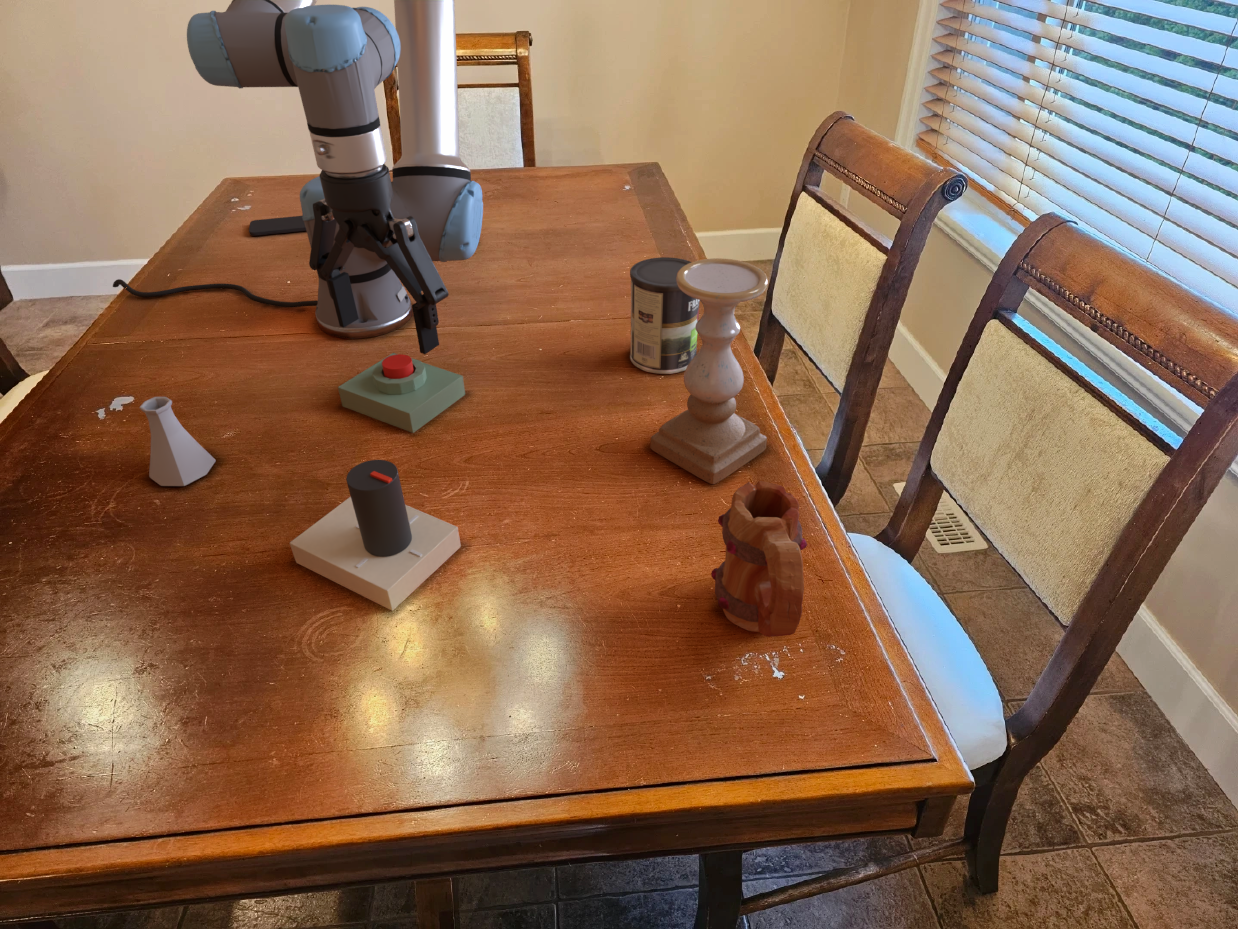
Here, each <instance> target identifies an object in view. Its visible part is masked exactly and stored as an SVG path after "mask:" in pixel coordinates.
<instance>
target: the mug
mask: <svg viewBox="0 0 1238 929" xmlns="http://www.w3.org/2000/svg"><path fill="white" fill-rule="evenodd" d="M799 511H800V503H799V500H798V499H797V498H796V497H794V495H793V494H792V493H790V492H787V490H786V489H785V487H784V486H782V485H780V484H777V483H773V482H768V481H763V480H759V481H757V482H756V484H753V483H751V482H750V481H747V482H746V483H745V484H743V485H742V486H740V487H739V488H737V489H736V490H735V492H734V493H733V495H732V498H731V505H730V508H728V510H727V511H726V512H725V513H722V514H721V515H719V516H718V519H717V523H718V524H719V526H721V528H722V530H721V531H722V532H721V534H722V540H723V543H724V545H725V557H724V561H722V563H721V564H720V565H719V566H718V567H716V568H713V569H712V570H711V573H710V575H711V578H712V579H713V581H714V594H715V597H716V599H717V604H718V606H719V607H720V608H721V609H722V611H723V614H724V616H725V617H726V619H727V620H728V621H729V622H731V623H732V624H734V625H736V626H737V627H739V628H741V629H744V630H746V631H748V632H755V633H760V634H761V635H762V636H764V637H767V638H773V637H783V636H784V637H785V636H791V635H794V634H795V633H796V631H797V629H798V627H799V625H800V621H801V618H802V613H803V600H804V593H805V581H804V560H803V556H802V551H803V550H805V549H806V548H807V546H808V543H807V541H806V539H805V538H804V537H803V527H802V524H801V522H800V520H799V519H800V512H799Z"/></svg>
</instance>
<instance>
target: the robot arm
mask: <svg viewBox="0 0 1238 929" xmlns="http://www.w3.org/2000/svg"><path fill="white" fill-rule="evenodd" d="M317 1H318V0H231V1H230V4H229V5H228V7H227V8H226V10H225V11H223V12H222V11H221V12H220V11H216V10H211V11H209V12H199V13H195V14H193V15H192V16H191V17H190V19H189V20H188V22H187V27H186V45H187V49H188V53H189V56H190V59H191V60H192V63H193V66H194V68H195V70H196V72H197V73H198V74H199V76H200V77H201V78H202V79H203V80H204V82H207V83H208V84H209V85H212V86H216V87H217V86H218V87H229V88H238V89H244V88H298V91H299V96H300V99H301V103H302V107H303V111H304V115H305V119H306V124H307V125H306V126H307V130H308V132H309V136H310V140H311V145H312V149H313V153H314V158H315V161H316V166H317V168H319V169H320V170H321V172H320V173H319V175H318V176H316V177H313V178H312V179H310V180H309V181H307V182H306V183H305V184H304V185H302V187H301V189H300V192H299V201H300V202H299V203H300V208H301V213H302V215H301V216H302V219H303V221H304V223H305V227H306V231H305V232H306V234H307V238H308V242H309V246H310V255H309V261H308V265H309V267H310V269H311V270H313V271H316V273H317V277H318V288H317V300H303V301H302V300H301V301H282V300H281V301H280V300H274V299H269V298H265V297H261V296H258V295H255V294H253V293H252V292H250V290H248V289H246V288H245V287H243V286H242V285H238V284H235V283H223V282H221V283H206V284H196V285H185V286H180V287H174V288H173V287H172V288H169V289H168V288H167V289H164V290H158V291H139V290H136V289H134V288H132V286H130V285H129V284H128V283H127V282H126V281H125V280H123V279H120V278H118V279H116V280H115V281H114V282H113V283H112V288H119V286H121V287H122V288H123V289H124V290H126V291H127V292H128V293H130V294H131V295H132V296H135V297H138V298H157V297H159V298H160V297H165V296H169V295H174V294H180V293H185V292H194V291H204V290H217V289H221V290H222V289H223V290H224V289H226V290H235V291H239V292H240V293H242V294H244V296H246V297H247V298H248V299H250V300H252V301H254V302H257V303H261V304H265V305H268V306H274V307H279V308H280V307H281V308H302V307H315V318H316V322H317V326H318V328H319V330H321V331H322V332H323V333H325V334H327V335H328V336H332V337H336V338H340V339H350V340H352V339H353V340H355V339H368V338H374V337H379V336H383V335H386V334H390V333H391V332H394V331H396V330H398V329H400V328H401V327H403V326H405V325H406V324H407V323H408V322H409V321H410V320H411V318H412V316H413V320H414V326H415V331H416V336H417V343H418V347H419V353H420V354H423V355H426V354H428V353H429V352H431V351H432V350H434V349H435V348H437V347H438V346H440V342H439V341H440V340H439V335H438V328H437V327H438V326H439V323H440V320H439V315H438V307H437V304H438V303H441V301H443V300H445V299H446V298H448V297H449V294H450V293H449V291H448V289H447V287H446V285H445V283H444V281H443V279H442V277H441V275H440V273H439V271H438V269H437V268H436V265H435V264H434V262H442V263H447V262H452V261H453V262H454V261H466V260H469V259H470V258H471V257H473V255H474V254H475V253H476V251H477V250H478V245H479V242H480V239H481V233H482V227H483V216H484V202H483V189H482V186H481V185H480V183H478V182H476V181H475V180H472V176H471V175H472V172H471V169H470V168H469V167H468V166H467V165H466V164H465V163H464V162H463V160H462V158H461V149H460V148H461V147H460V145H461V144H460V121H459V120H460V116H459V92H458V91H459V90H458V67H457V66H458V63H457V62H458V61H457V36H456V35H457V34H456V33H457V32H456V30H457V29H456V8H455V7H456V5H455V3H456V2H455V0H393V4H394V6H393V7H394V24H393V22H392V21H391V19H390V18H389V17H387V16H386V15H385V14H384V13H383V12H381V11H380V10H377V9H376V8H373V7H369V6H357V7H351V6H348V5H345V4H344V5H343V4H317ZM396 66H397V82H398V83H397V84H398V86H397V87H398V103H399V106H398V107H399V123H400V142H401V157H400V158H399V160H397V162H396V163H394V165H393V166H392V170H391V171H392V179H391V174H390V173H391V172H390V169H389V166H387V165H386V162H387V161H388V156H387V151H386V146H385V141H384V136H383V130H382V125H381V119H380V115H379V109H378V103H377V97H376V92H375V91H376V90H375V89H376V88H377V87H378V86H379V85H381V83H383V82H384V81H385V80H386V79H389V77H390V76H391V75H392V74H393V72H394V70H395V68H396ZM126 287H127V288H126ZM125 288H126V289H125ZM408 293H409V295H410V296H411V298H412V299H413V300H414V301H415V303H412V302H411V298H410V296H409V295H408Z"/></svg>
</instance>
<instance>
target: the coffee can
mask: <svg viewBox="0 0 1238 929" xmlns="http://www.w3.org/2000/svg"><path fill="white" fill-rule="evenodd" d="M691 262H692V261H690V260H687V259H684V258H679V257H668V256H664V257H663V256H662V257H652V258H647V259H644V260H640V261H639V262H636V263H635V264H633V265H632V266H631V267H630V269H629V277H630V353H629V359H630V361H631V363H632V365H633V366H634V367H636V368H638V369H640V370H641V371H644V372H647V373H651V374H658V375H673V374H678V373H682V372H685V370H686V368H687V366H688V364H689V363H690V361H691V360H692V359H693V358H694V357H695V356H696V354H697V350H698V349H697V346H698V333H697V331H696V323H697V322H698V321H699V319H700V318H699V316H700V303H701V301H700V300H698V299H695V298H692V297H690V296H688V295H687V294H685V293H684V292H682V291H681V290H680V288H679V287H678V285H677V282H676V276H677V273H678V271H679V270H680V269H681V268H682V267H683V266H685V265H687V264H689V263H691Z"/></svg>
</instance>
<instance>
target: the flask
mask: <svg viewBox="0 0 1238 929" xmlns="http://www.w3.org/2000/svg"><path fill="white" fill-rule="evenodd" d="M172 405H173V400H172V399H170V398H169V397H167V396H154V397H151V398H149V399H147V400H144V401H143V402H142V404H141V405H140V406H139V410H140V411H142V412H143V413H144V414H145V417H146V419H147V420H148V425H149V431H150V454H149V455H150V456H149V470H148V472H149V473H148V477H149V478H150V479H151V480H152V481H154V482H155V483H157V485H159V486H160V487H185V486H187V485H190V484H191V483H193V482H195V481H197V480H200V478H203V477H205V476H206V475H208V473H209V472H210V470H211V469H212V467H213V466H214V464H215V463H216V461H217V460H216V459H215V458H214V457H213V456H212V454H211V453H209V452H208V451H207V450H206V449H205V448H204V447H203V446H202V445H201V444H200V443H199V442H198V441H197V440H196V439H195V438H194V437H193V436H192V435H191V434H190V433H189V432H188V431H187V429H185V428H184V427H183V425H182V424H181V422H180V421H179V420H178V418H177V417H176V416H175V413H174V411H173V409H172Z"/></svg>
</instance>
